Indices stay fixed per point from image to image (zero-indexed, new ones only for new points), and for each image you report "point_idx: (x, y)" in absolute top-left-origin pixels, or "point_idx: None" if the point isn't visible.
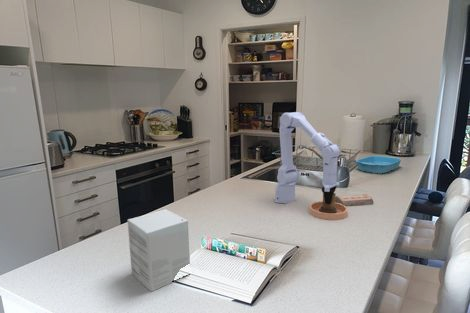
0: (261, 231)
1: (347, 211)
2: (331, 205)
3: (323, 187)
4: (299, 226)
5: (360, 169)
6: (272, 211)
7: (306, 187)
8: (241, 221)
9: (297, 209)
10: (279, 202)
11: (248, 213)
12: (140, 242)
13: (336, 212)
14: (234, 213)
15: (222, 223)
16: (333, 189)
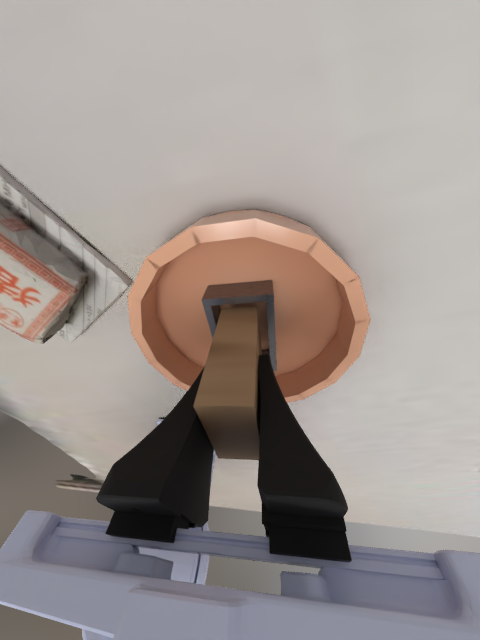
0: (476, 439)
1: (209, 220)
2: (258, 342)
3: (207, 511)
4: (426, 378)
5: None
6: None
7: (25, 415)
8: (395, 468)
9: None
10: None
11: (333, 467)
12: None
13: (243, 287)
14: (342, 479)
15: (413, 483)
16: (274, 505)
